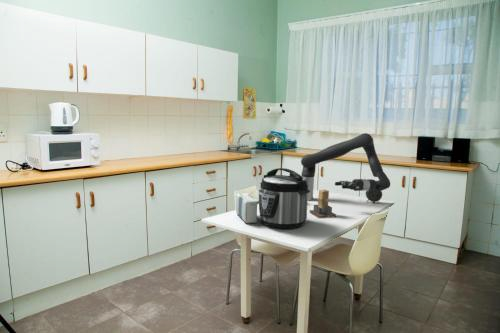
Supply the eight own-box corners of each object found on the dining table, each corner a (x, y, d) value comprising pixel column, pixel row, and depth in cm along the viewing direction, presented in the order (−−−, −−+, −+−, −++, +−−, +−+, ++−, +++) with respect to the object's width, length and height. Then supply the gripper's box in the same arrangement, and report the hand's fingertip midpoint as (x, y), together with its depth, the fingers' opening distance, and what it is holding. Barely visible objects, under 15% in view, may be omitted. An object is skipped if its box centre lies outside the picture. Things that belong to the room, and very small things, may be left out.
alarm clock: (380, 202, 260) (382, 180, 258) (382, 204, 255) (384, 182, 253) (364, 201, 262) (366, 179, 259) (366, 203, 256) (368, 181, 254)
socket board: (318, 218, 217) (318, 209, 216) (309, 212, 228) (309, 204, 227) (335, 216, 220) (336, 208, 220) (326, 211, 232) (326, 203, 231)
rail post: (321, 213, 221) (322, 191, 219) (317, 211, 226) (318, 189, 223) (327, 213, 223) (328, 191, 221) (323, 211, 227) (325, 189, 225)
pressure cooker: (253, 215, 218) (254, 164, 213) (297, 214, 223) (300, 164, 218) (262, 232, 189) (265, 173, 184) (313, 230, 193) (317, 173, 189)
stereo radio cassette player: (235, 214, 220) (235, 182, 217) (247, 213, 223) (248, 182, 219) (244, 224, 200) (245, 189, 197) (258, 223, 203) (259, 189, 200)
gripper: (355, 176, 236) (333, 177, 231) (368, 181, 222) (345, 181, 217) (354, 188, 237) (332, 188, 232) (366, 193, 223) (344, 193, 219)
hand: (338, 185), depth 225 cm, fingers open, 8 cm apart
